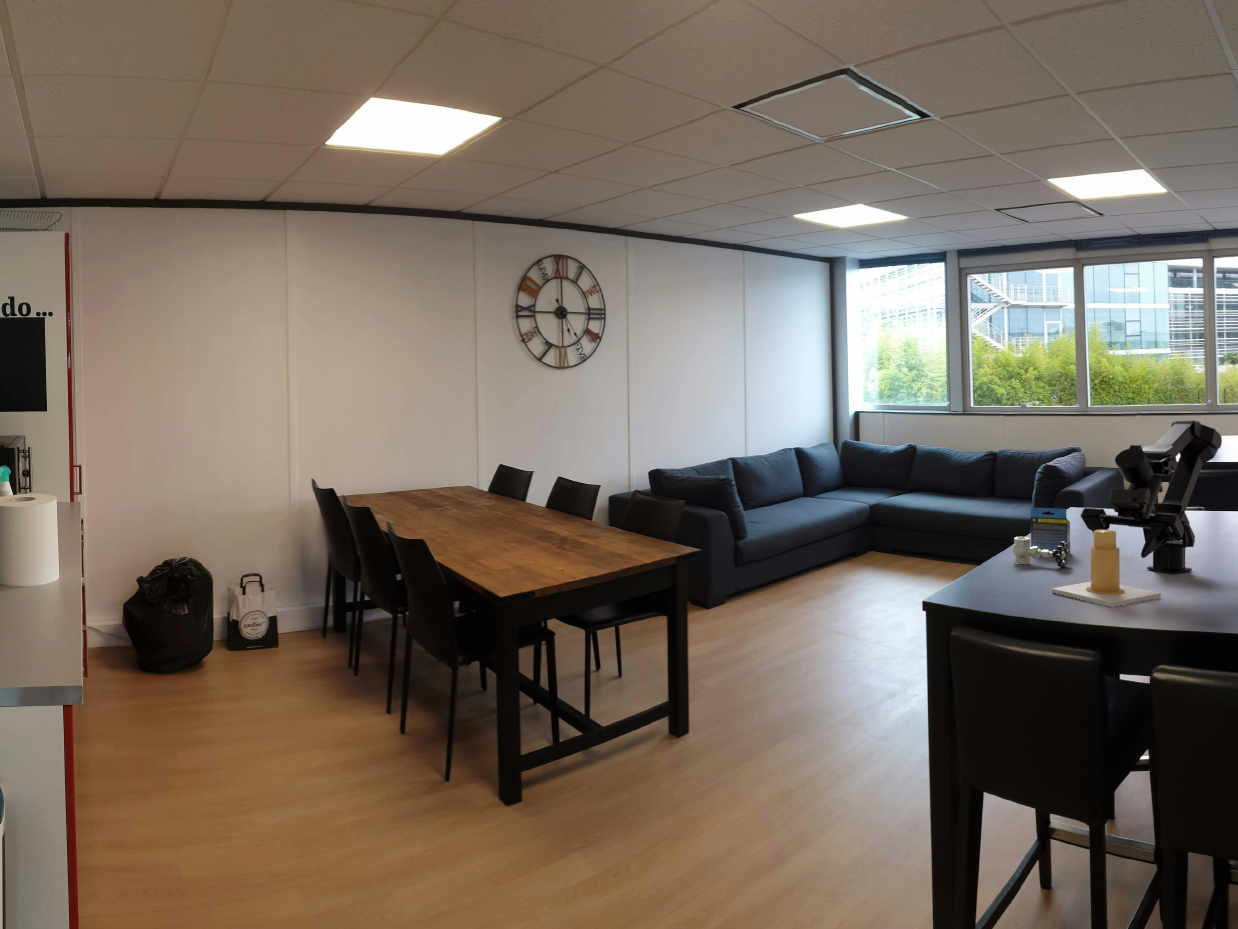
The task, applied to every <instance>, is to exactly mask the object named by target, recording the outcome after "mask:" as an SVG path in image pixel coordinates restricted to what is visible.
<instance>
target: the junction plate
mask: <svg viewBox="0 0 1238 929" xmlns="http://www.w3.org/2000/svg"><path fill="white" fill-rule="evenodd" d="M1051 593H1052V594H1054V593H1056V594H1055V595H1058V594H1060V595H1059V596H1062V595H1064V596H1063V597H1067V596H1068V597H1067V598H1071V597H1073V598H1072V599H1075V598H1077V599H1076V600H1079V599H1080V601H1083V600H1084V602H1088V603H1091V602H1093V604H1096V603H1097V604H1096V605H1100V604H1101V606H1104V605H1105V606H1104V607H1108V606H1109V607H1108V608H1116V607H1115V606H1117V607H1121V606H1120V605H1122V606H1125V605H1124V604H1127V605H1130V604H1129V603H1132V604H1134V603H1133V602H1138V603H1141V602H1140V601H1143V602H1147V601H1146V600H1148V601H1151V600H1150V599H1153V600H1157V599H1156V598H1158V599H1161V598H1162V597H1161V596H1162V594H1161V593H1160V592H1157V591H1153V590H1152V591H1151V590H1147V589H1144V588H1143V589H1142V588H1139V587H1138V588H1137V587H1133V586H1128V585H1123V584H1120V591H1119V592H1116V593H1103V592H1096V591H1093V590H1091V581H1087V582H1081V583H1075V584H1070V585H1064V586H1058V587H1053V588H1051ZM1160 597H1161V598H1160Z"/></svg>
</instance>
